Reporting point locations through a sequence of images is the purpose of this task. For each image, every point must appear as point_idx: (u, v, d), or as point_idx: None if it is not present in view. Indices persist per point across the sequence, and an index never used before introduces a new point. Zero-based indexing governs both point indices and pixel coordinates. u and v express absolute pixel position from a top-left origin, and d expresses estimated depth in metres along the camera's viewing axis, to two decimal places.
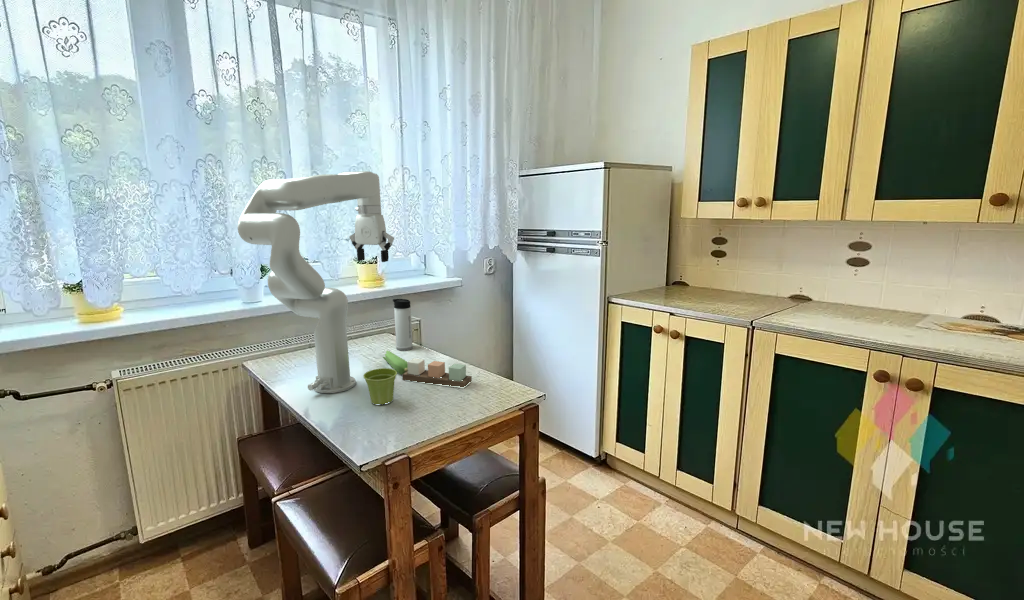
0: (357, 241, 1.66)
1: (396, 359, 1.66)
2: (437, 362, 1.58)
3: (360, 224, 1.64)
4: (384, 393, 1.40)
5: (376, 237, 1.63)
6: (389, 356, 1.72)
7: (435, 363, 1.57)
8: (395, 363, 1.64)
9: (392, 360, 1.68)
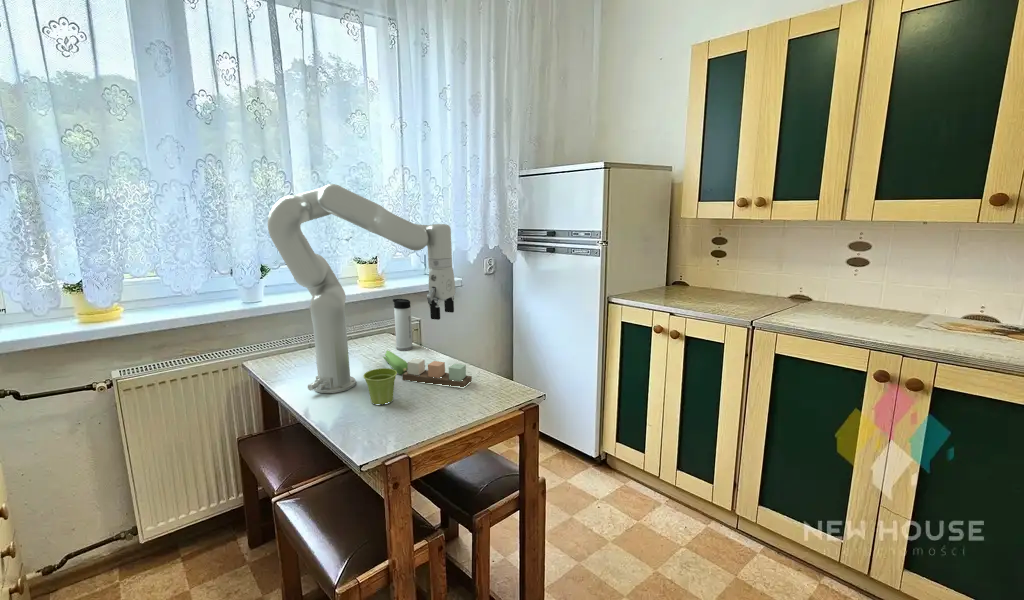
0: (443, 297, 1.54)
1: (395, 359, 1.66)
2: (437, 362, 1.58)
3: (445, 278, 1.54)
4: (384, 393, 1.40)
5: (453, 288, 1.60)
6: (389, 356, 1.72)
7: (435, 363, 1.57)
8: (394, 363, 1.64)
9: (391, 360, 1.68)
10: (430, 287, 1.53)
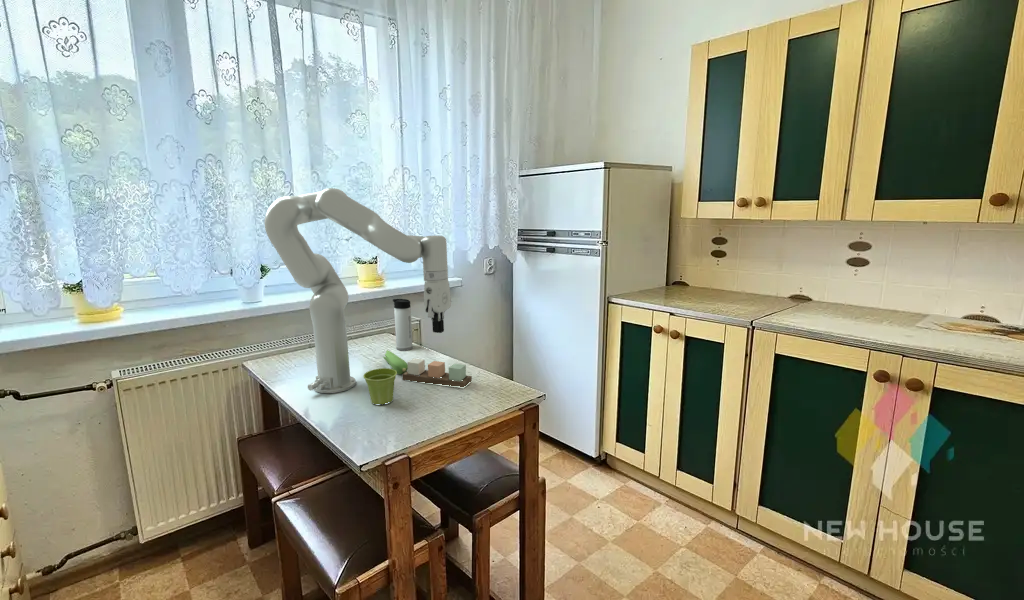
0: (439, 310, 1.51)
1: (395, 359, 1.66)
2: (437, 362, 1.58)
3: (441, 291, 1.51)
4: (384, 393, 1.40)
5: (449, 300, 1.58)
6: (388, 356, 1.72)
7: (435, 363, 1.57)
8: (393, 363, 1.64)
9: (391, 360, 1.68)
10: (425, 300, 1.50)
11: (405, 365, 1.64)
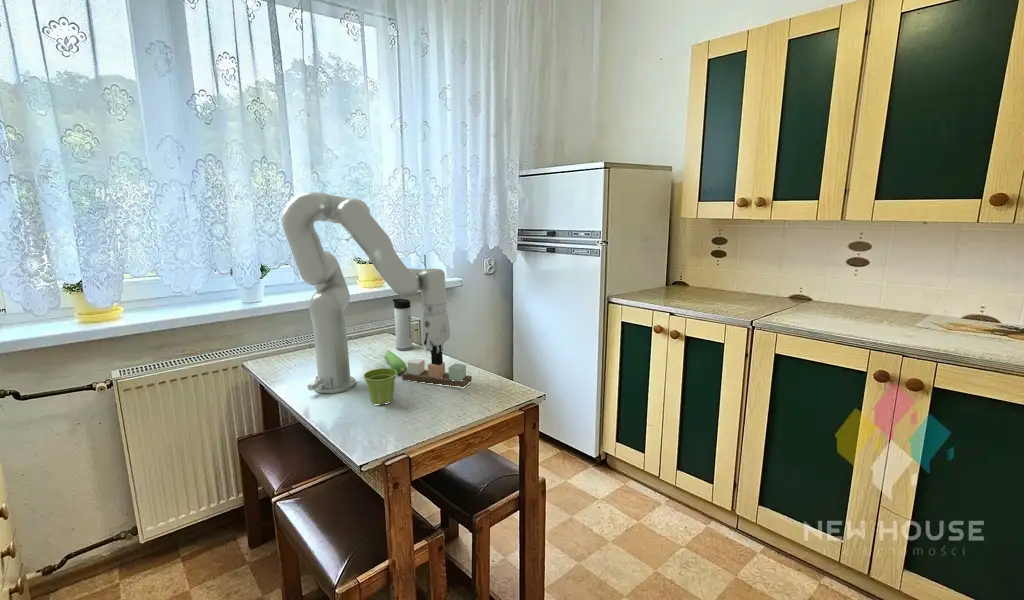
0: (437, 343, 1.51)
1: (394, 359, 1.66)
2: None
3: (439, 324, 1.52)
4: (384, 393, 1.40)
5: (448, 332, 1.58)
6: (388, 356, 1.72)
7: None
8: (392, 363, 1.64)
9: (390, 360, 1.68)
10: (424, 333, 1.51)
11: (404, 365, 1.63)
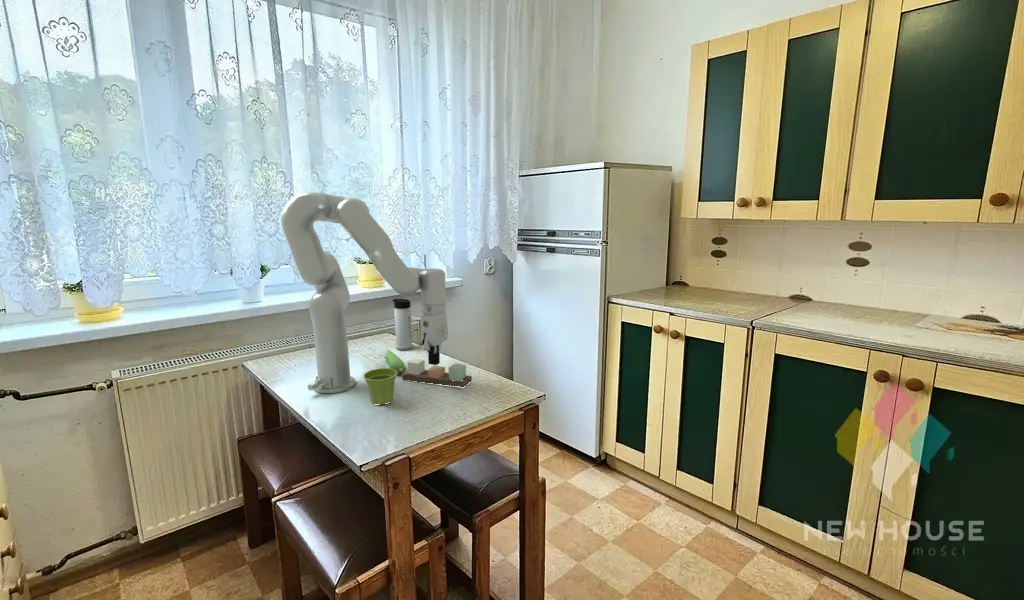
0: (435, 343, 1.51)
1: (393, 359, 1.66)
2: (437, 367, 1.59)
3: (438, 324, 1.51)
4: (384, 393, 1.40)
5: (446, 332, 1.58)
6: (388, 356, 1.72)
7: (436, 368, 1.58)
8: (391, 363, 1.64)
9: (389, 360, 1.68)
10: (422, 333, 1.51)
11: (402, 365, 1.63)
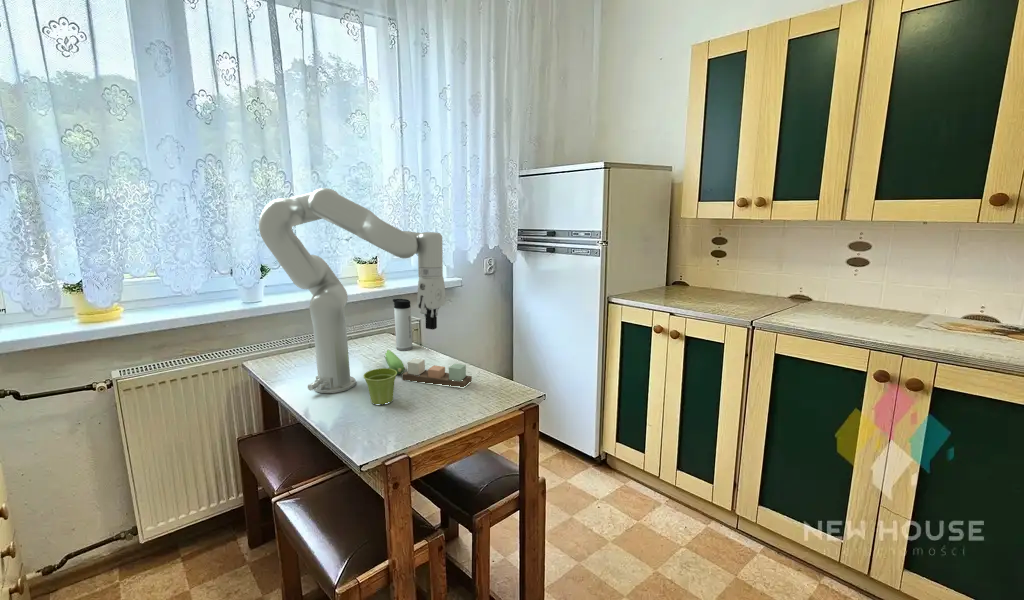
0: (432, 307, 1.51)
1: (392, 359, 1.66)
2: (437, 367, 1.59)
3: (434, 288, 1.51)
4: (384, 393, 1.40)
5: (443, 297, 1.58)
6: (388, 355, 1.72)
7: (436, 368, 1.58)
8: (390, 363, 1.64)
9: (389, 360, 1.68)
10: (419, 296, 1.51)
11: (401, 365, 1.63)
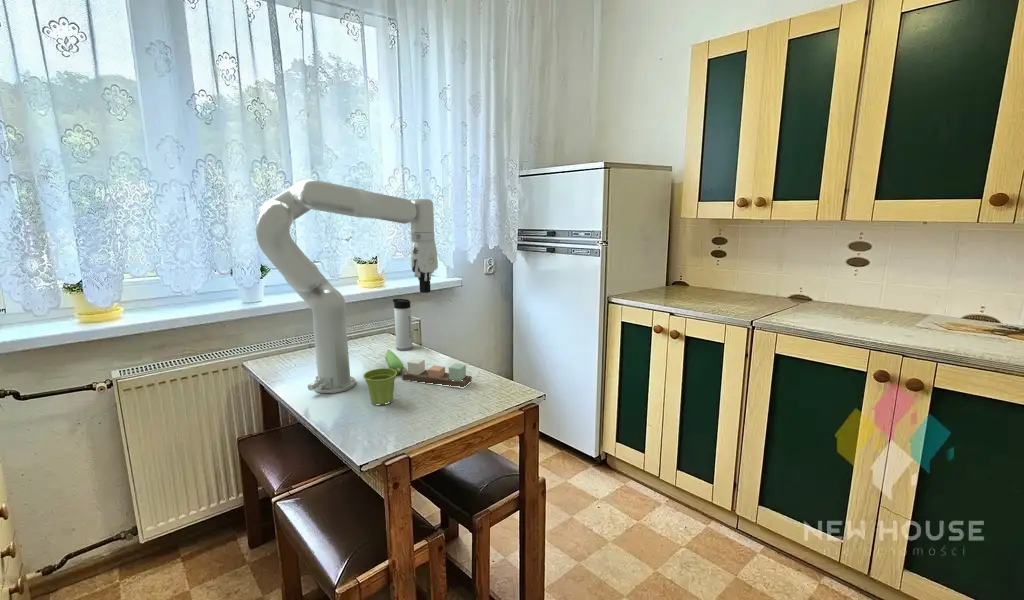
0: (425, 270, 1.58)
1: (391, 359, 1.66)
2: (437, 367, 1.59)
3: (427, 252, 1.58)
4: (384, 393, 1.40)
5: (436, 262, 1.65)
6: (387, 355, 1.72)
7: (436, 368, 1.58)
8: (389, 363, 1.64)
9: (388, 360, 1.68)
10: (412, 260, 1.58)
11: (400, 365, 1.63)
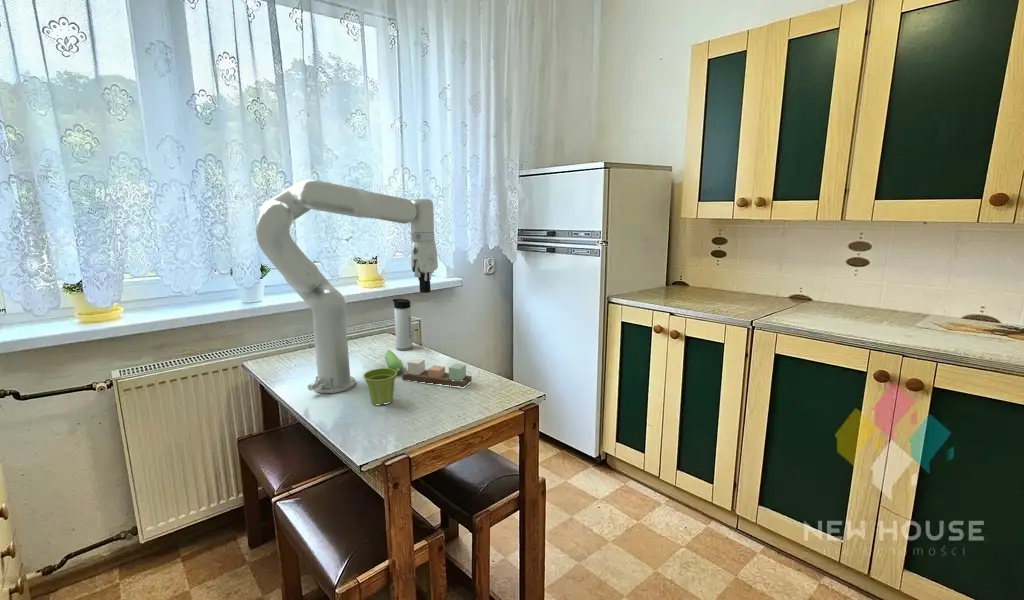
0: (425, 270, 1.58)
1: (391, 359, 1.66)
2: (437, 367, 1.59)
3: (427, 252, 1.59)
4: (384, 393, 1.40)
5: (436, 262, 1.65)
6: (387, 355, 1.72)
7: (436, 368, 1.58)
8: (389, 363, 1.64)
9: (388, 360, 1.68)
10: (412, 260, 1.58)
11: (399, 365, 1.63)
